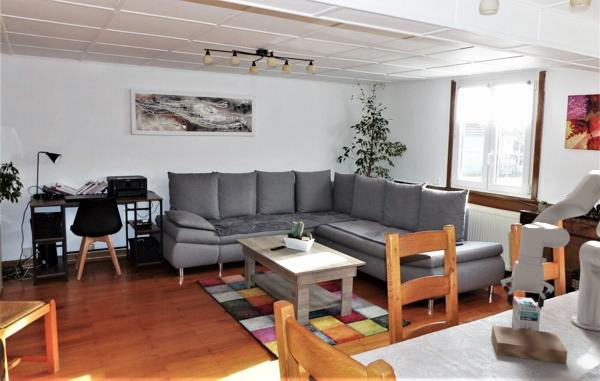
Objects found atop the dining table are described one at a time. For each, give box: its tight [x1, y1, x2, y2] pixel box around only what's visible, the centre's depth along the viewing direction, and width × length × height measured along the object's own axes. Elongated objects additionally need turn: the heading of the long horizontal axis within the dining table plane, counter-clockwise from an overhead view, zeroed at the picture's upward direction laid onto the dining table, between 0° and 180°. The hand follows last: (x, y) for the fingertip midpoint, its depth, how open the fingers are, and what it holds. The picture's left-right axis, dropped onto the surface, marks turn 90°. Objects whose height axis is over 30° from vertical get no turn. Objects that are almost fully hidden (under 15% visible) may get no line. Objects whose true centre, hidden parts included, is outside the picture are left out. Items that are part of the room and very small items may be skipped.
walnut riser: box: [491, 325, 568, 365], centre depth 153 cm, size 20×14×4 cm
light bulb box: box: [511, 296, 542, 331], centre depth 167 cm, size 11×7×11 cm, turn 168°
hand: (524, 306), depth 167 cm, fingers open, 9 cm apart
